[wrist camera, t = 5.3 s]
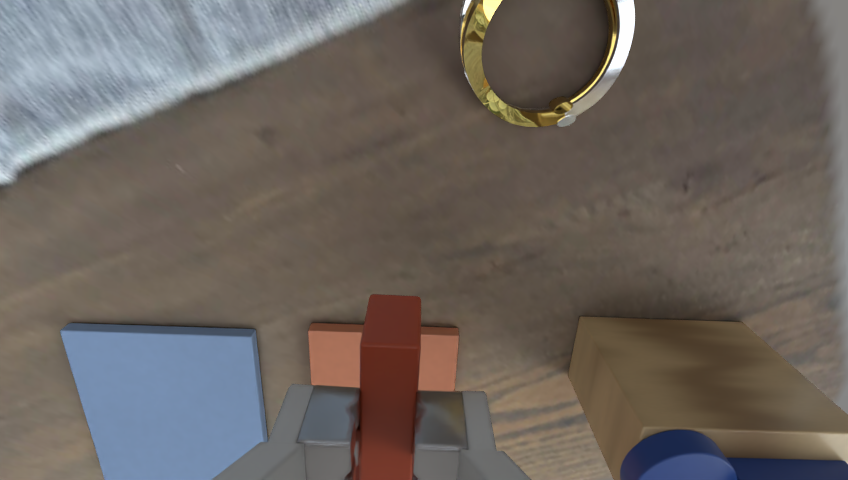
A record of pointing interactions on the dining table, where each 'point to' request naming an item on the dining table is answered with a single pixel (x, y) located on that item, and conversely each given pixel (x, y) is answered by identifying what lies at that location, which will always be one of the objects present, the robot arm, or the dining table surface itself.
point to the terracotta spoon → (389, 386)
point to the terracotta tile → (340, 356)
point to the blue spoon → (715, 462)
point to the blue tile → (167, 397)
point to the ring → (561, 111)
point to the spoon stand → (699, 390)
